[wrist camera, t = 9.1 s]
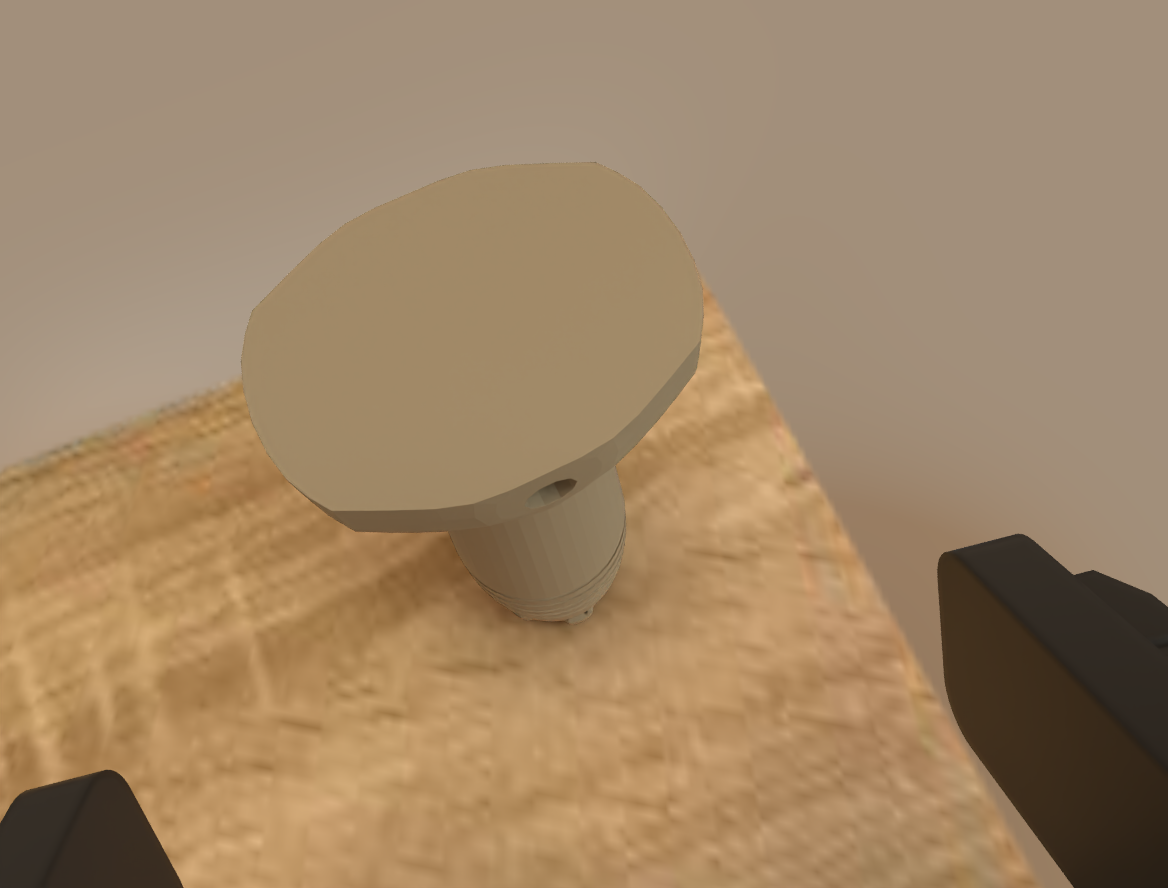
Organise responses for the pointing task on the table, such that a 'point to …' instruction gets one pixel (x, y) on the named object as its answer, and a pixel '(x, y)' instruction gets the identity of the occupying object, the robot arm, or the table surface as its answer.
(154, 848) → the robot arm
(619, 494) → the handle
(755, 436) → the table surface
